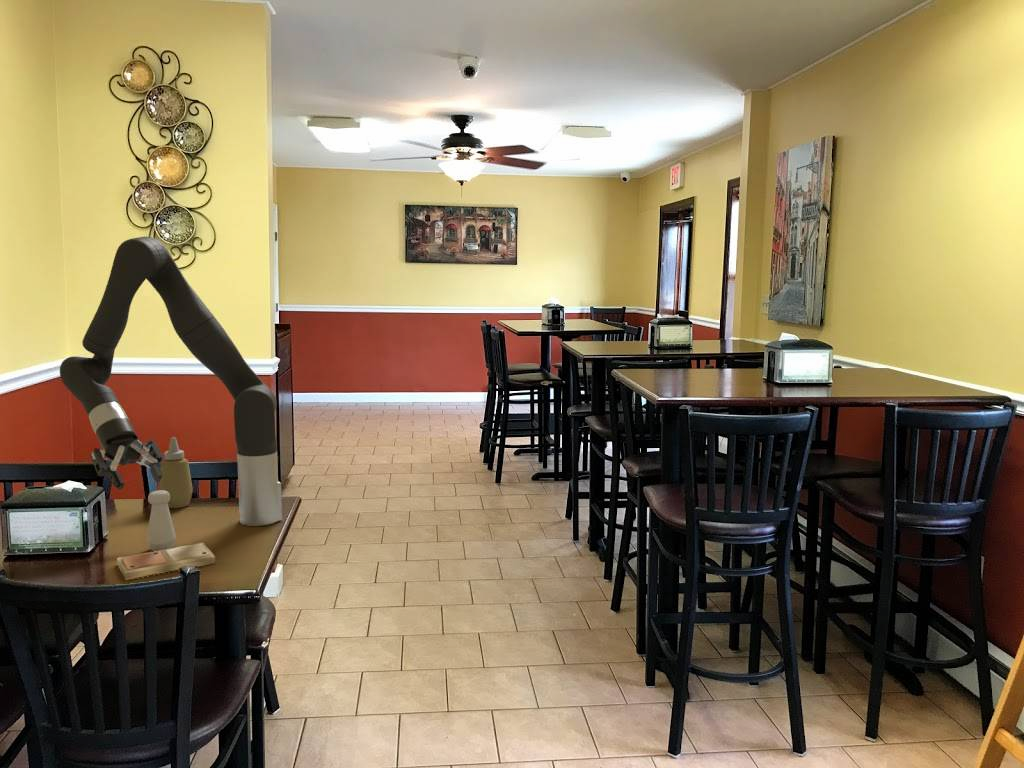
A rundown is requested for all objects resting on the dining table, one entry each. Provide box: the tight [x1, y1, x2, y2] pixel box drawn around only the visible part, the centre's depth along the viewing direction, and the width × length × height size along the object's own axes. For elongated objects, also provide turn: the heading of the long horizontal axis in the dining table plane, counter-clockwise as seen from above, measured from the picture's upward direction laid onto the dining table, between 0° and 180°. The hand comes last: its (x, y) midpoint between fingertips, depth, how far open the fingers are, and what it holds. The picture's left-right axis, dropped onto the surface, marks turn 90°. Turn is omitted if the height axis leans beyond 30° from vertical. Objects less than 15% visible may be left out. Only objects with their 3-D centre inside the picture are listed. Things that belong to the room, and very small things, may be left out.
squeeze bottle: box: [158, 437, 194, 509], centre depth 201 cm, size 8×8×18 cm
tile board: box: [116, 542, 216, 579], centre depth 162 cm, size 17×10×2 cm, turn 125°
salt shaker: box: [146, 489, 177, 552], centre depth 170 cm, size 6×6×13 cm
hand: (140, 483), depth 173 cm, fingers open, 8 cm apart
